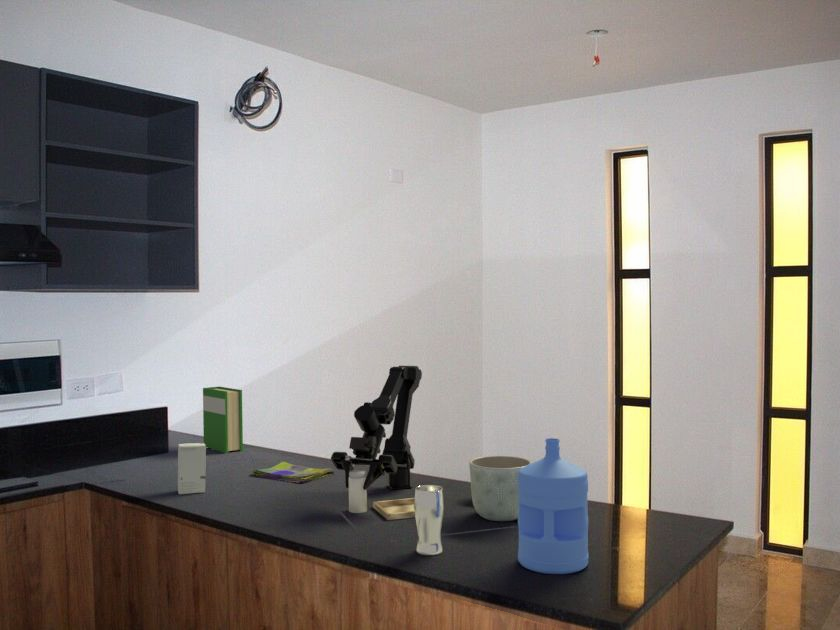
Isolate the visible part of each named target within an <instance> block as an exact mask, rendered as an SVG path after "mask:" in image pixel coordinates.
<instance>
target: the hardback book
mask: <svg viewBox="0 0 840 630" xmlns="http://www.w3.org/2000/svg"><path fill="white" fill-rule="evenodd" d="M202 405H203V406H202V408H203V409H202V410H203V411H202V413H203V416H202V417H203V421H202V422H203V443H204V444H205V445H206V447H208V448H211V449H214V450H217V451H216V452H218V451H220V452H219V453H222V452H224V453H223V454H225V453H227V454H229V452H231V451H238V450H239V451H238V452H243V451H244V447H243V446H244V445H243V443H244V440H243V437H244V436H243V431H244V430H243V429H244V428H243V390H242V389H238V388H230V387H225V386H210V387H203V388H202ZM211 449H210V450H211ZM214 450H213V451H214Z"/></svg>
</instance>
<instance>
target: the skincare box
mask: <svg viewBox="0 0 840 630" xmlns="http://www.w3.org/2000/svg"><path fill="white" fill-rule="evenodd" d="M206 453H207V448H206V445H205V444H204V442H198V443H197V442H195V443H193V442H192V443H191V442H190V443H189V442H188V443H187V442H186V443H178V444H177V492H178V495H188V494H189V495H191V494H199V493H200V494H201V493H205V492H206V464H207V463H206V462H207V461H206V459H207V457H206V456H207V454H206Z"/></svg>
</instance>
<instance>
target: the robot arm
mask: <svg viewBox="0 0 840 630" xmlns="http://www.w3.org/2000/svg"><path fill="white" fill-rule="evenodd" d="M422 373H423V372H422V370H421V369H420V368H419V366H417V365H398V366H391V367H390V368H389V373H388V376H387V377H386V381H385V383H384V385H383V388H382V389H381V392H380V394H379V396H378V397H377V398H375V399H374V400H373V401H372V402H367V401H365V402H363V405H360V406H359V407H357V408H356V409H355V410H354V412H353V416H354V419H355V420H356V423H357V424H358V426H359V428H360V430H361V431H362V432H363V435H362V437H360V436H351V437H350V440H349V447H348V448H349V449H350V450H352V454H353V455H354V456H355V457H354V456H353V457H352V456H351V455H349V454H348V453H347V451H334V452H332V453H331V457H330V461H331V462H332V464H333V465H334V467H335V469H337V470H338V471H344V473H345V474H344V475H345V480H344V481H345V488H346V489H349V471H351V470H355V469H354V468H355V467H354V466H365V467H366V466H367V467H369V469H368V472H367V474H366V480H365V483H364V487H363V488H364V490H366V489H368V488H369V487H370V486H371V485H372V484H373V483H374V482H375V481H377V480H378V479H379V478H381V476H385V474H386V486H387V487H388V488H390V489H392V490H402V489H412V488H413V486H412V485H411V470H412V469H413V470H414V468H415V458H414V456H413V454H412V453H413V452H412V451H411V444H410V442H409V441H408V430H409V423H410V418H411V417H410V416H411V408H412V403H413V395H414V393H415V391H417V390H418V388H419V386H420V382H421V380H422V377H423V374H422ZM395 402H396V405H395V409H394V404H395ZM392 422H393V425H392V431H391V432H392V433H391V435H390V436H389V438H386V437H387V434H386V429H385V427H384V426H383V425H385V426H386V425H388V426H389V425H391V423H392ZM383 438H385V440H384V447H383V451H382V454H381V445H382V442H383ZM378 454H379V456H378ZM377 457H378V458H377Z"/></svg>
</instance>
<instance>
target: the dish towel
mask: <svg viewBox="0 0 840 630" xmlns="http://www.w3.org/2000/svg"><path fill="white" fill-rule="evenodd" d="M251 472H252V473H250V476H255V475H256V476H255V477H259V476H260V477H259V478H264V477H266V478H265V479H269V478H273V479H272V480H275V479H279V480H278V481H280V480H285V481H284V482H286V481H289V482H288V483H293V482H294V483H295V482H296V483H295V484H301V482H303V483H307V482H311V481H314V480H313V479H315V480H318V479H321V477H322V478H326V477H329V476H328V475H330V476H332V475H331V474H333V475H334V474H335V470H334V469H332V468H313V467H307V466H302V465H298V464H292V463H288V462H286V461H281V462H280V463H278V464H276V465H273V466H272V467H269V468H262V469H253V470H252V471H251ZM325 476H326V477H325ZM317 478H318V479H317ZM310 480H311V481H310ZM306 481H307V482H306Z"/></svg>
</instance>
